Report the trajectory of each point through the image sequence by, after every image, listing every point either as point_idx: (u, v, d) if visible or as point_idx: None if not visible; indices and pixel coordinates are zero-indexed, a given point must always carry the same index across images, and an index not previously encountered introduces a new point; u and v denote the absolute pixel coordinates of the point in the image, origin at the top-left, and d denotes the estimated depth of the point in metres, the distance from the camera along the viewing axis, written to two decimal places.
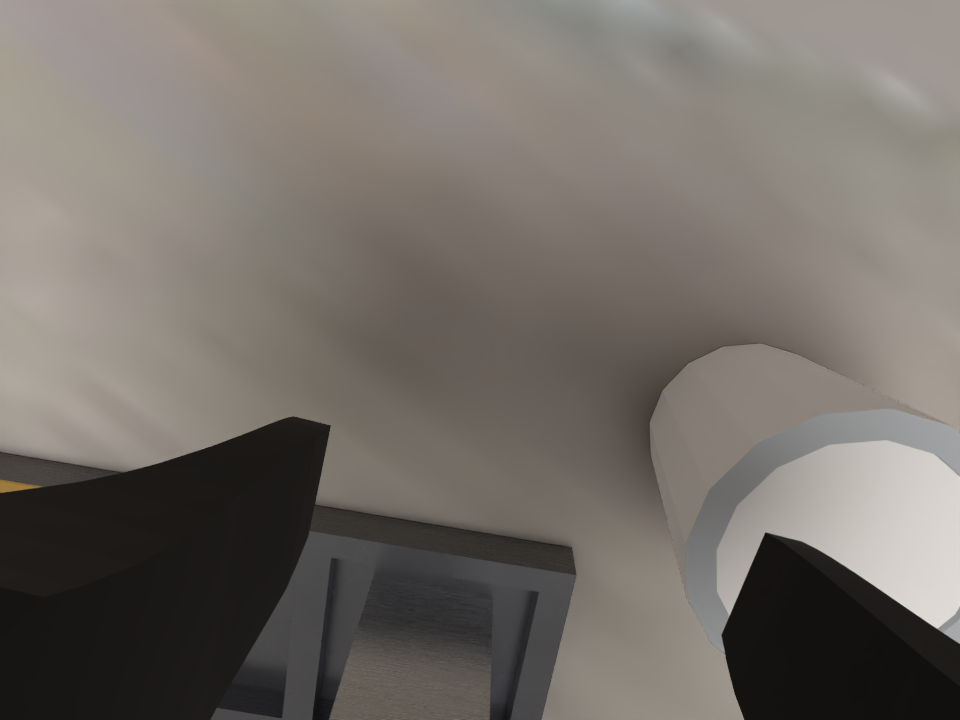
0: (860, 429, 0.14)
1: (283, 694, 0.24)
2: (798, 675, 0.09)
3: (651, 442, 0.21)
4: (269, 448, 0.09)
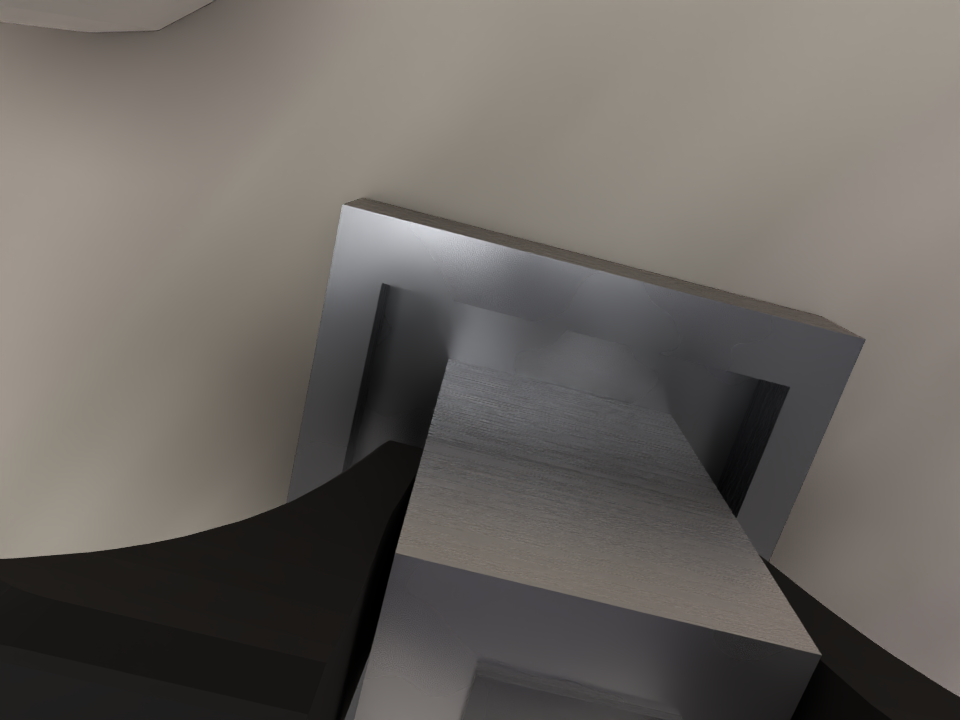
0: None
1: None
2: None
3: (107, 30, 0.11)
4: (388, 477, 0.09)
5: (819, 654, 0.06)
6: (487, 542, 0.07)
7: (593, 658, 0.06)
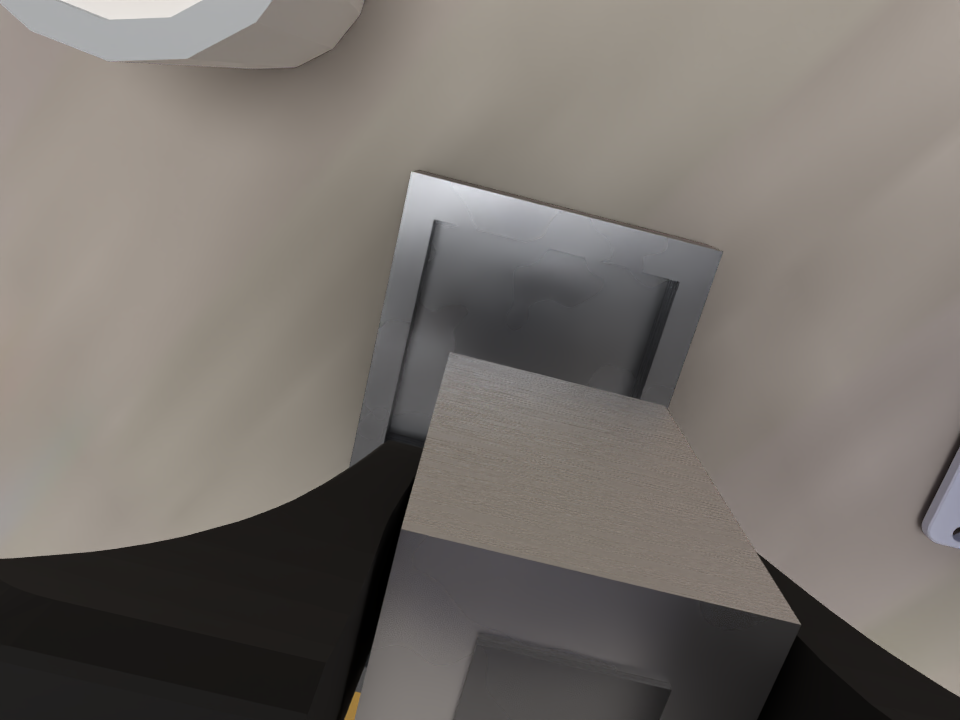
0: None
1: None
2: None
3: (268, 68, 0.18)
4: (388, 477, 0.09)
5: (798, 624, 0.07)
6: (487, 521, 0.07)
7: (586, 628, 0.07)
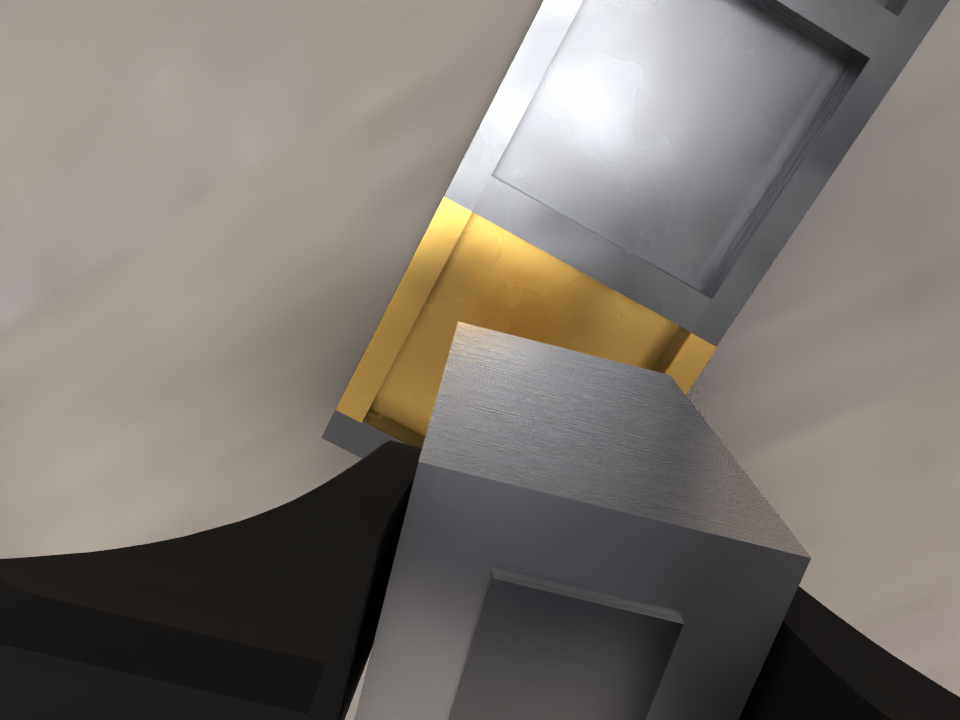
0: None
1: (842, 73, 0.17)
2: None
3: None
4: (388, 477, 0.09)
5: (809, 557, 0.07)
6: (501, 459, 0.07)
7: (599, 562, 0.07)
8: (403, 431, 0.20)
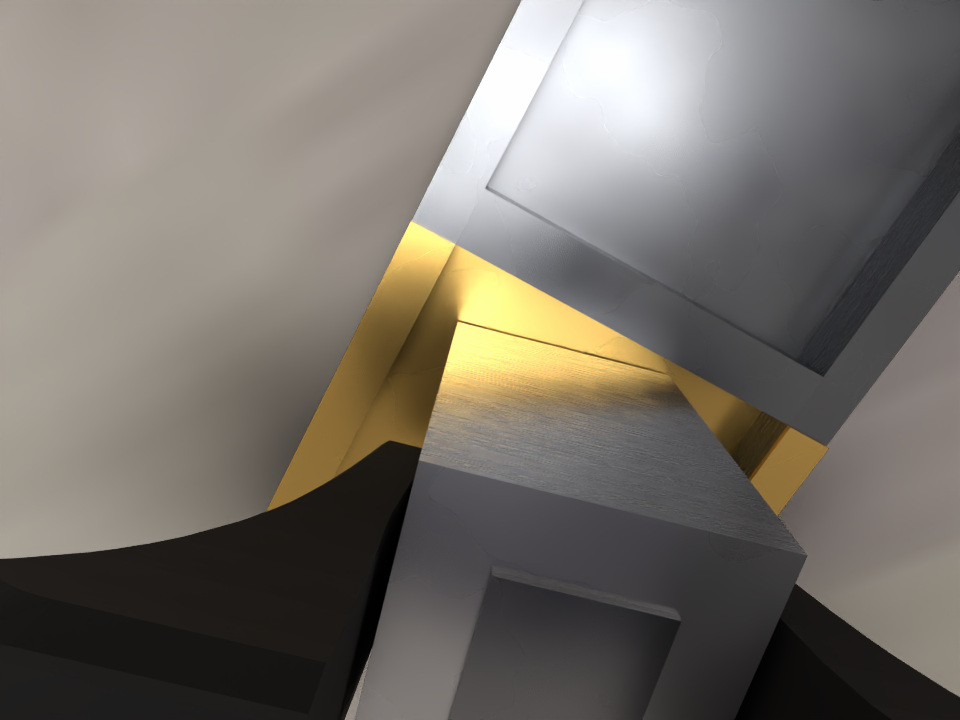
0: None
1: None
2: None
3: None
4: (389, 477, 0.09)
5: (804, 555, 0.07)
6: (501, 458, 0.07)
7: (598, 560, 0.07)
8: None
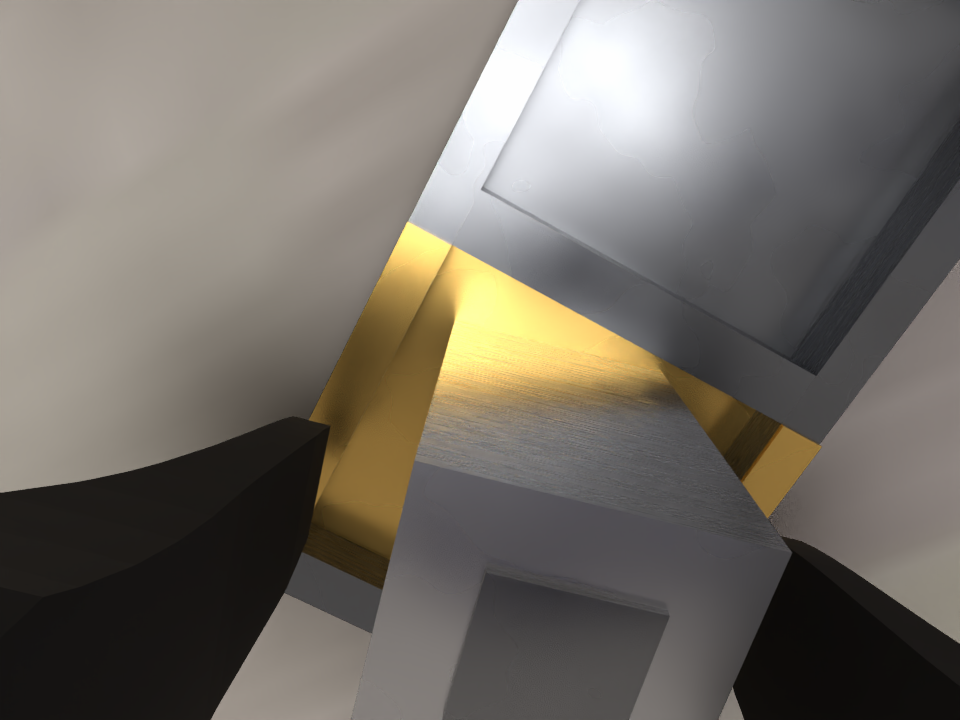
0: None
1: None
2: (799, 675, 0.09)
3: None
4: (269, 448, 0.09)
5: (789, 552, 0.07)
6: (494, 457, 0.07)
7: (589, 557, 0.07)
8: (356, 555, 0.14)
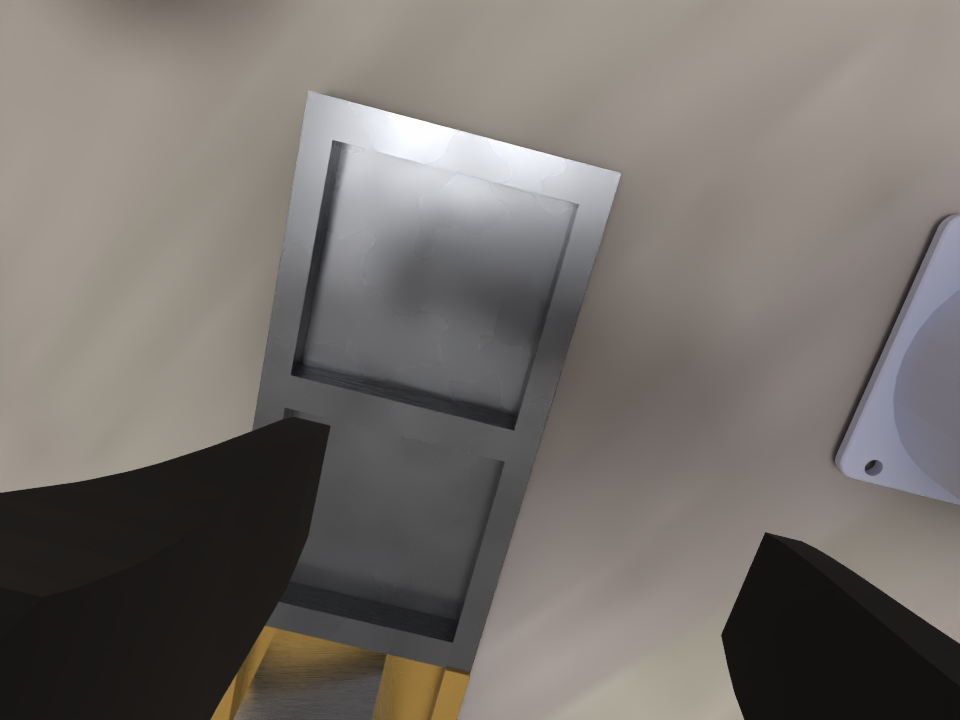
0: None
1: None
2: (798, 674, 0.09)
3: None
4: (269, 448, 0.09)
5: None
6: None
7: None
8: None
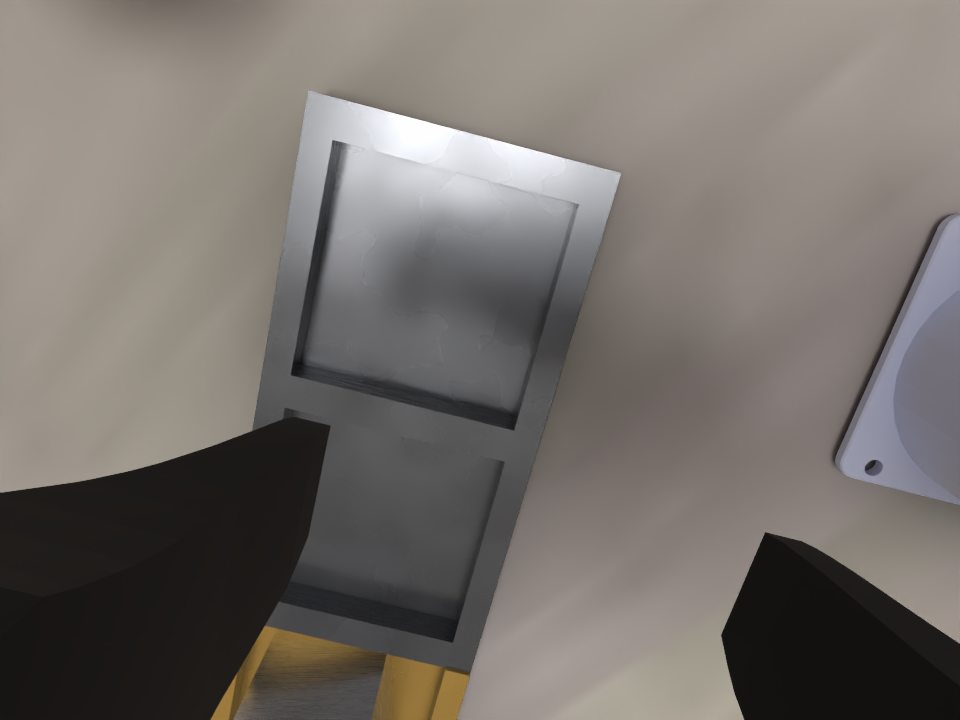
0: None
1: None
2: (798, 674, 0.09)
3: None
4: (269, 448, 0.09)
5: None
6: None
7: None
8: None
